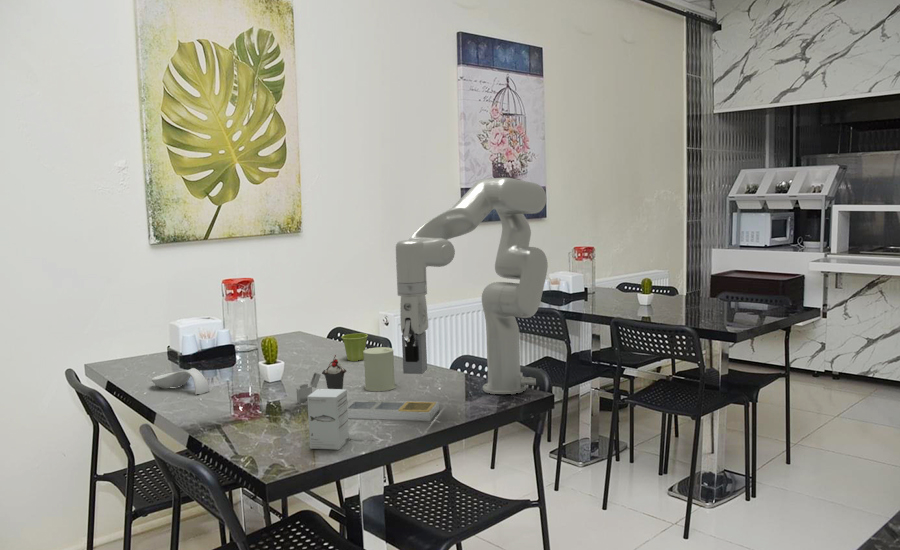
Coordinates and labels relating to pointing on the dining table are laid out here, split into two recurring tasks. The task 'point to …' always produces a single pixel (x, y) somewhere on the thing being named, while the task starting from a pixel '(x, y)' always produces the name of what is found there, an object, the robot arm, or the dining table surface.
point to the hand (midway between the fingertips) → (414, 358)
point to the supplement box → (328, 418)
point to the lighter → (307, 389)
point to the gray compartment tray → (392, 410)
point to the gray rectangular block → (422, 356)
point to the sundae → (334, 375)
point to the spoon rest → (182, 380)
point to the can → (379, 369)
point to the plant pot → (355, 346)
